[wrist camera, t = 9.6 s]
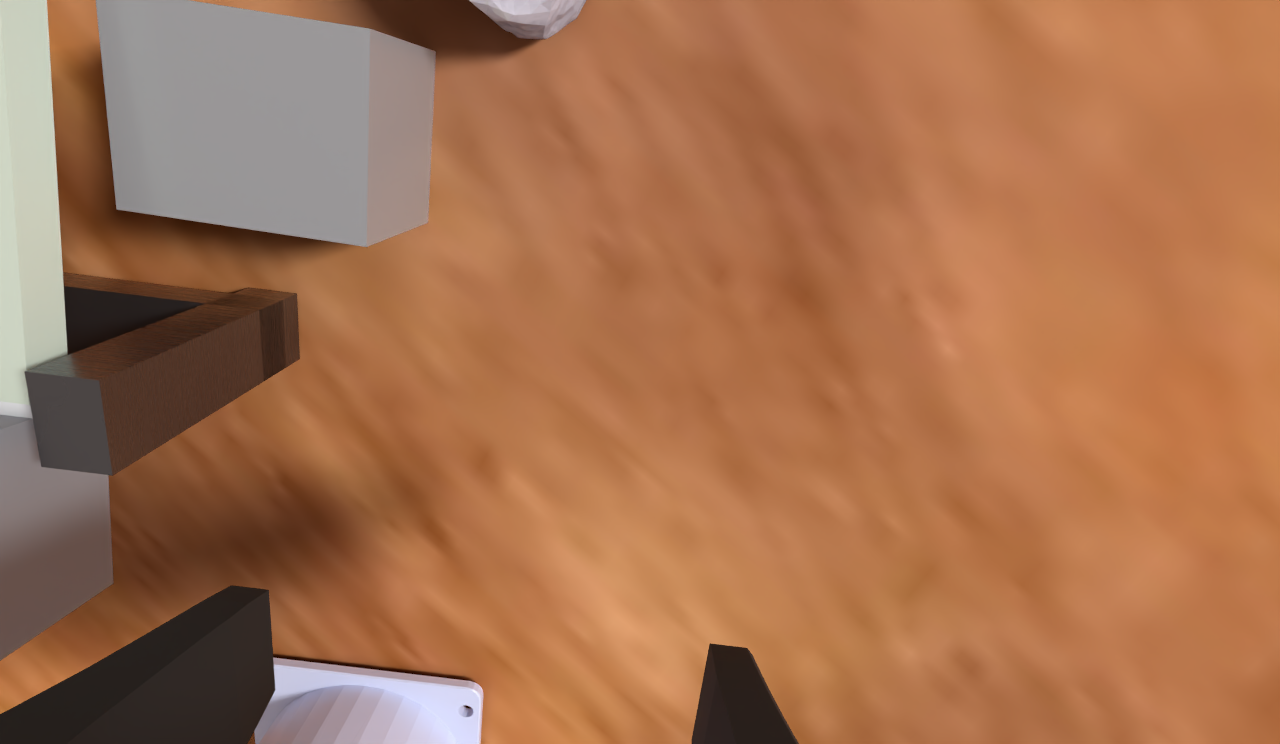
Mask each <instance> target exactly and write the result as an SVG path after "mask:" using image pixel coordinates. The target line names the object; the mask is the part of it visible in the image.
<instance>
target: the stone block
mask: <svg viewBox="0 0 1280 744" xmlns="http://www.w3.org/2000/svg"><path fill="white" fill-rule="evenodd" d="M469 1H470V2H471V3H473V4H474V5H475V6H476V7H477V8H478V9H480V10H481V11H482V12H484V13H485V14H486V15H487V16H488V17H489V18H491V19H492V20H493V21H494V22H495V23H496V24H498V25H499V26H500V27H501V28H503V29H504V30H505V31H507V32H511V33H513V34H514V35H515V36H517V37H518V38H525V39H547V38H549V37H551V36H552V35H554V34H555V33H557V32H558V31H559V30H561V29H562V28H563V27H565V26H566V25H568V24H569V23H570V22H572V21H573V20H575V19H576V18H577V16H578V15H579V13H580V11H581V9H582V7H583V5H584V3H585V2H586V0H469Z"/></svg>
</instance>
